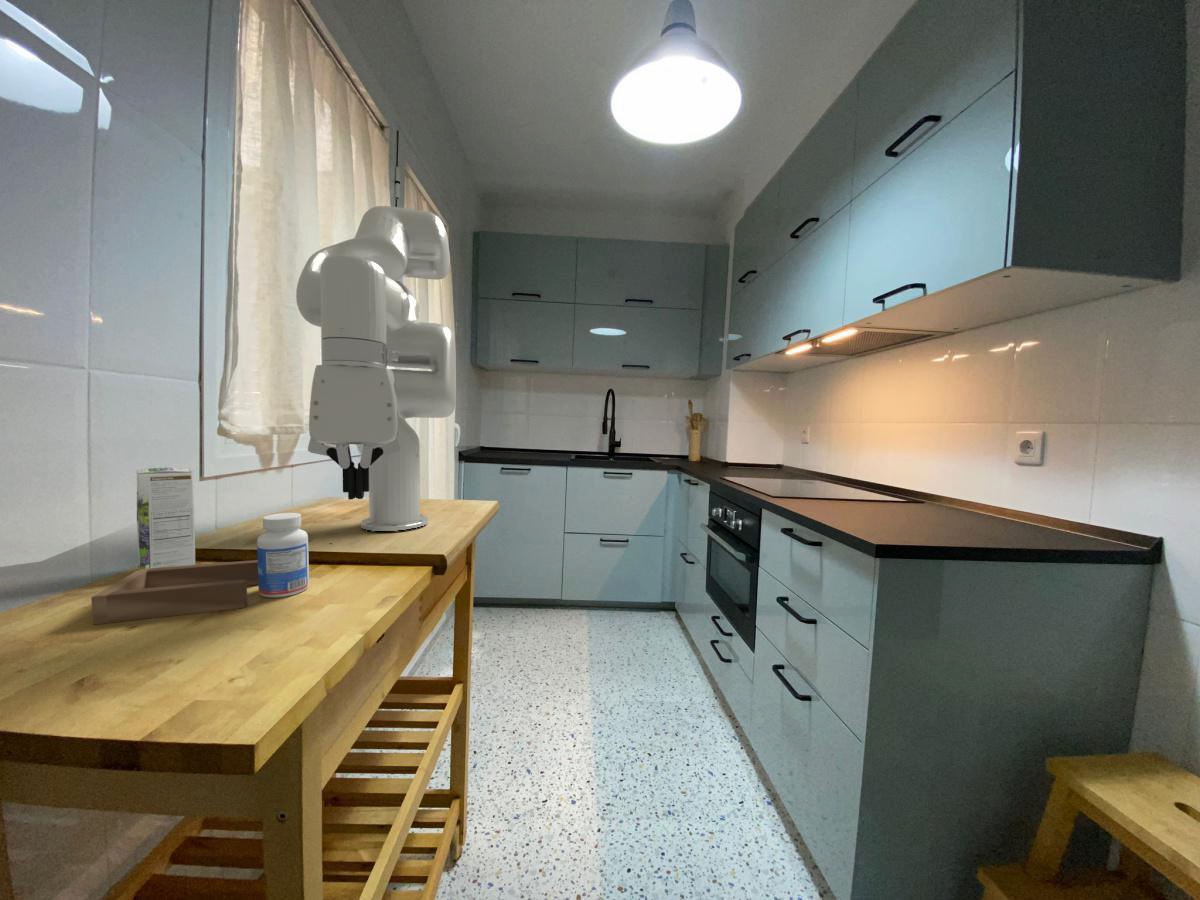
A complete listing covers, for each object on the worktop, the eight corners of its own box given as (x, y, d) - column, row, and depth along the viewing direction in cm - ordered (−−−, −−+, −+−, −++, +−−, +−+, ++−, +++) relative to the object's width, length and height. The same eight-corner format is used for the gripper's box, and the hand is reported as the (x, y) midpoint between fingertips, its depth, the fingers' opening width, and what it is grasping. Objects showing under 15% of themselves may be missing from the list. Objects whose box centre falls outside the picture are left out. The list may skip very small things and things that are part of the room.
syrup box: (137, 570, 66) (132, 468, 65) (192, 561, 71) (188, 466, 70) (140, 580, 62) (135, 472, 61) (198, 570, 67) (194, 469, 66)
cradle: (140, 592, 58) (139, 569, 58) (267, 581, 63) (266, 559, 63) (92, 624, 49) (91, 596, 49) (244, 607, 54) (243, 582, 54)
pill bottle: (264, 586, 61) (262, 512, 61) (312, 581, 63) (310, 510, 63) (253, 601, 56) (250, 521, 56) (305, 595, 58) (303, 518, 58)
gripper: (416, 364, 67) (417, 492, 68) (294, 357, 61) (296, 496, 62) (416, 357, 60) (417, 499, 61) (279, 348, 55) (282, 505, 55)
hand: (356, 497), depth 62 cm, fingers closed
